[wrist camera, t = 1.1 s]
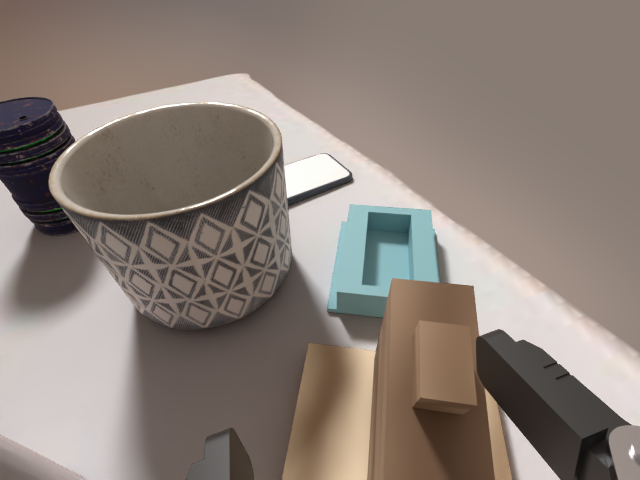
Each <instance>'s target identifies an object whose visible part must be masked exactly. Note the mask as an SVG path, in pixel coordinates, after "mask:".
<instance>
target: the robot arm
mask: <svg viewBox="0 0 640 480" xmlns="http://www.w3.org/2000/svg"><path fill="white" fill-rule="evenodd" d="M476 369H477V374H478V376H479V379H480V381H481V383H482V384H483V386H484V387H485V389H486V390H487V391H488V392H489V394H490V395H491V396H492V397H493V398H494V400H495V401H496V402H497V403H498V404H499V406H500V407H501V408H502V409H503V411H504V412H505V413H506V414H507V415H508V417H509V418H510V419H511V420H512V421H513V423H514V424H515V425H516V426H517V427H518V429H519V430H520V431H521V432H522V434H523V435H524V436H525V437H526V438H527V440H528V441H529V442H530V443H531V444H532V446H533V447H534V448H535V449H536V450H537V452H538V453H539V454H540V455H541V457H542V458H543V459H544V460H545V461H546V463H547V464H548V465H549V466H550V467H551V469H552V470H553V471H554V472H555V473H556V475H557V476H558V477H559V478H560V480H640V427H639V426H633V425H631V424H629V423H628V422H626V421H625V420H624V419H622V418H621V417H620V416H619V415H618V414H616V413H615V412H614V411H613V410H612V409H611V408H609V407H608V406H607V405H606V404H605V403H604V402H603V401H601V400H600V399H599V398H598V397H597V396H596V395H594V394H593V393H592V392H591V391H590V390H589V389H588V388H586V387H585V386H584V385H583V384H582V383H581V382H580V381H578V380H577V379H576V378H575V377H574V376H573V375H572V376H571V375H570V374H569V372H568V371H567V370H566V369H565V368H563V367H562V366H561V365H560V364H559V365H558V364H557V362H556V361H555V360H554V359H553V358H552V357H551V356H550V355H548V354H547V353H546V352H545V351H544V350H543V349H541V348H539V347H537V346H535V345H533V344H531V343H529V342H527V341H525V340H520V341H518V342H515V341H514V340H513V339H512V338H511V337H510V336H509V335H508V334H507V333H505V332H504V331H503V330H500V329H498V330H495V331H492V332H490V333H487V334H484V335H482V336H479V337H477V338H476ZM0 480H85V479H84V478H83V477H82V476H80V475H78V474H76V473H74V472H73V471H71V470H69V469H67V468H65V467H63V466H61V465H59V464H57V463H55V462H53V461H51V460H50V459H48V458H46V457H44V456H42V455H40V454H38V453H36V452H34V451H32V450H30V449H28V448H26V447H24V446H22V445H20V444H18V443H16V442H14V441H12V440H10V439H8V438H6V437H4V436H2V435H0ZM186 480H254V475H253V469H252V465H251V461H250V458H249V456H248V454H247V452H246V450H245V448H244V447H243V445H242V443H241V441H240V439H239V437H238V436H237V434H236V432H235V430H234V429H233V428H230V429H227V430H224V431H221V432H219V433H216V434H213V435H211V436H208V437H207V438H206V441H205V452H204V460H202V461H199V462H197V463H194V464H192V466H191V468H190V470H189V473H188V475H187V477H186Z"/></svg>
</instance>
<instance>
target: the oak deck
mask: <svg viewBox="0 0 640 480" xmlns="http://www.w3.org/2000/svg"><path fill="white" fill-rule="evenodd" d="M375 353H376V351H370V350H362V349H354V348H346V347H338V346H331V345H323V344H315V343H309V344H308V349H307V354H306V359H305V364H304V369H303V374H302V379H301V384H300V389H299V394H298V399H297V404H296V409H295V414H294V419H293V424H292V429H291V434H290V439H289V445H288V450H287V455H286V460H285V465H284V470H283V475H282V480H367V474H368V457H369V440H370V423H371V406H372V389H373V372H374V358H375ZM485 394H486V403H487V412H488V421H489V430H490V439H491V448H492V457H493V466H494V475H495V480H512V476H511V471H510V466H509V461H508V456H507V451H506V446H505V440H504V435H503V430H502V425H501V420H500V415H499V410H498V405H497V402H496V401H495V400H494V398H493V397H492V396H491V395H490V394H489V392H488V391H487V390H486V389H485Z"/></svg>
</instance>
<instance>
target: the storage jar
mask: <svg viewBox="0 0 640 480" xmlns="http://www.w3.org/2000/svg"><path fill="white" fill-rule="evenodd" d="M74 142H75V139H74V137H73V136H72V135H71V133H70V130H69V128H68V126H67V124H66V123H65V121H64V120H63V119H62V117H61V115H60V114H59V113H58V112H57V109H56V107H55V105H54V103H53V102H52V101H51V100H50V99H47V98H41V97H26V98H18V99H11V100H6V101H2V102H0V180H1V181H2V182H3V183H4V185H5V186H6V187H7V188H8V190H9V191H10V192H11V193H12V198H13V199H14V201H15V202H16V203H17V205H18V206H19V208H20V210H21V211H22V212H23V213H24V215H25V216H26V217H27V218H29V219H30V221H31V222H32V223H34V225H35V227H36V228H37V229H38V231H40V232H41V233H43V234H46V235H52V236H59V235H66V234H71V233H74V232H77V231H78V229H77V228H76V227H75V225H74V224H73V223H72V221H71V220H70V219H69V217H68V216H67V214H66V213H65V212H64V210H63V209H62V208H61V206H60V205H59V204H58V202H57V201H56V200H55V198H54V197H53V196H52V194H51V192H50V189H49V175H50V171H51V169H52V167H53V165H54V163H55V162H56V160H57V159H58V158H59V156H60V155H61V154H62V153H63V152H64V151H65V150H66V149H67V148H68V147H69V146H71V145H72V144H73V143H74Z"/></svg>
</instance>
